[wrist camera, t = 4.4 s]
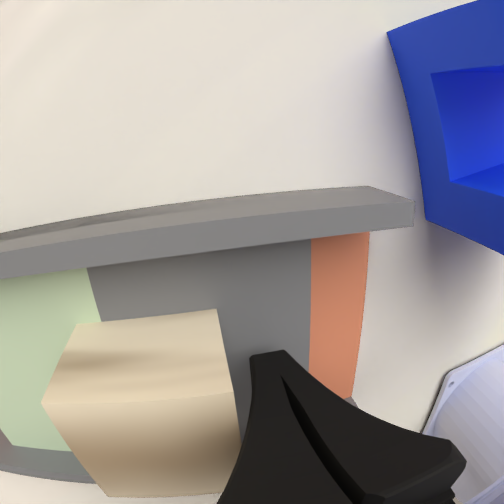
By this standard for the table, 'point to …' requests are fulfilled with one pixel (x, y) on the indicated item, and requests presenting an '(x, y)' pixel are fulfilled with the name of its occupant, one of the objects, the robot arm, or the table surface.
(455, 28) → the bracket
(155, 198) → the table surface
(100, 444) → the block
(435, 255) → the table surface
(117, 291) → the box
